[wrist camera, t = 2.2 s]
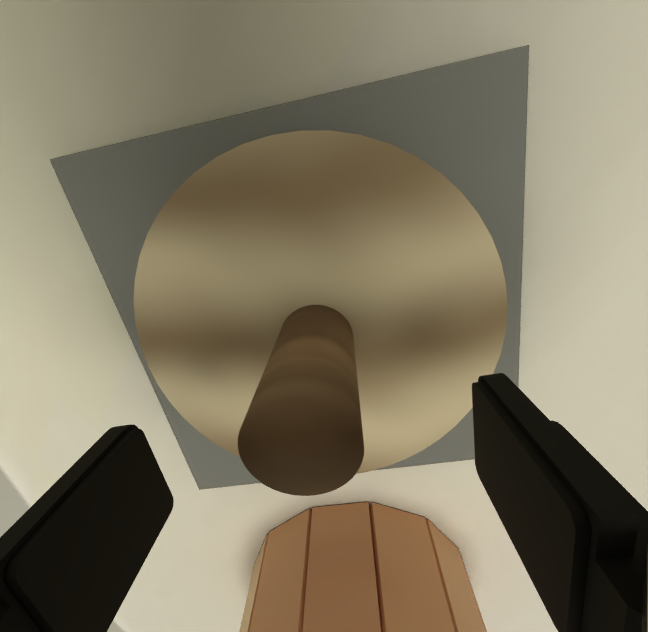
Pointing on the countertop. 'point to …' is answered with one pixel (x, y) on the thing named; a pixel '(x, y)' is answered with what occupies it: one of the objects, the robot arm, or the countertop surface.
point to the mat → (336, 115)
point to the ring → (359, 575)
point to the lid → (319, 306)
